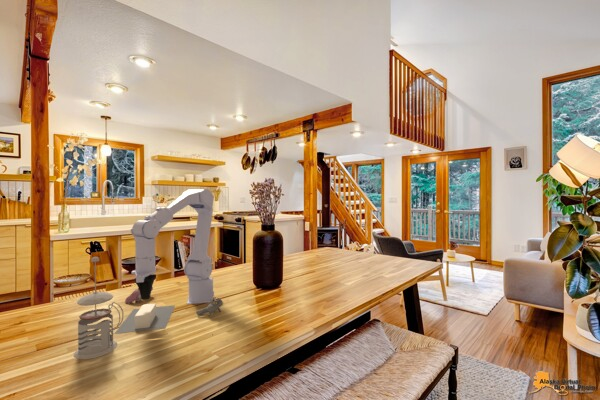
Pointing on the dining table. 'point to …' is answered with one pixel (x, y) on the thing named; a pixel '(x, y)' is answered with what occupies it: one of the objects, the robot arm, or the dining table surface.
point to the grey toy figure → (211, 307)
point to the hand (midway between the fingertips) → (145, 298)
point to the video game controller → (134, 296)
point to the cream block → (145, 316)
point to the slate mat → (157, 323)
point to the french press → (95, 325)
